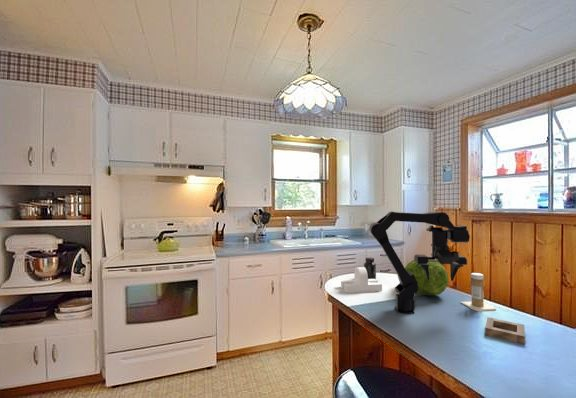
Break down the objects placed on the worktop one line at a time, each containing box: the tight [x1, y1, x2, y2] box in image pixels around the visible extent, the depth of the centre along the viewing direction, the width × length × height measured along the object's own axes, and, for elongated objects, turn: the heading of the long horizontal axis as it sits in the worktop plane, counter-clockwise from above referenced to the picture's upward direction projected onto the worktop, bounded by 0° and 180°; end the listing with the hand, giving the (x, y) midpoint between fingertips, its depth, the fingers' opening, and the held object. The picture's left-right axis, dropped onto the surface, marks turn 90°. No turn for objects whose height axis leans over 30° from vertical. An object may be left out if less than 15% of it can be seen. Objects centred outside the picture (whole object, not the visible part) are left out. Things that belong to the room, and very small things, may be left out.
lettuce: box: [404, 259, 449, 297], centre depth 143 cm, size 17×23×17 cm
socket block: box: [484, 317, 526, 345], centre depth 100 cm, size 11×11×2 cm
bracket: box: [340, 266, 383, 294], centre depth 150 cm, size 19×10×11 cm, turn 94°
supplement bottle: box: [363, 257, 377, 280], centre depth 168 cm, size 7×7×12 cm
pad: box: [460, 300, 497, 312], centre depth 125 cm, size 9×9×1 cm
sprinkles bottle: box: [470, 272, 485, 307], centre depth 125 cm, size 5×5×14 cm
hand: (440, 280), depth 119 cm, fingers open, 9 cm apart
